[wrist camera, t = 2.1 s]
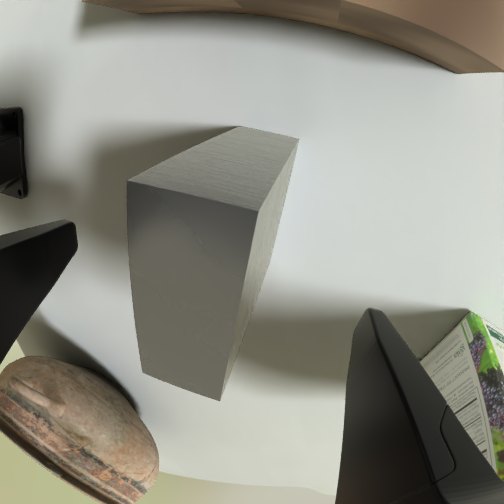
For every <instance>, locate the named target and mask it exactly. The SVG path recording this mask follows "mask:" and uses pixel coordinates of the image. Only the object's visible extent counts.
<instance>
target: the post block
mask: <svg viewBox="0 0 504 504" xmlns="http://www.w3.org/2000/svg"><path fill="white" fill-rule="evenodd" d="M82 2H88V3H93V4H98V5H103V6H108V7H113V8H117V9H121V10H125V11H129V12H133V13H137V14H146V13H160V12H184V11H206V12H231V13H244V14H255V15H264V16H272V17H279V18H286V19H292V20H297V21H303V22H308V23H313V24H318V25H322V26H327V27H331V28H335V29H339V30H343V31H347V32H350V33H354V34H357V35H361V36H364V37H368V38H371V39H374V40H377V41H380V42H383V43H386V44H389V45H391V46H394V47H397V48H400V49H402V50H405V51H407V52H410V53H412V54H415V55H417V56H420V57H422V58H424V59H427V60H429V61H431V62H434V63H436V64H438V65H440V66H442V67H444V68H446V69H448V70H450V71H452V72H454V73H456V74H465V73H485V72H504V0H82Z"/></svg>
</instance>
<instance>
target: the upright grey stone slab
mask: <svg viewBox="0 0 504 504" xmlns="http://www.w3.org/2000/svg"><path fill="white" fill-rule="evenodd" d="M298 142H299V139H297V138H293V137H289V136H284V135H280V134H276V133H271V132H267V131H262V130H257V129H252V128H247V127H242V126H239V127H237V128H234V129H232V130H230V131H227V132H225V133H222V134H220V135H218V136H216V137H213V138H211V139H209V140H207V141H204V142H202V143H200V144H198V145H196V146H193V147H191V148H189V149H187V150H185V151H183V152H181V153H179V154H177V155H175V156H173V157H171V158H169V159H167V160H165V161H163V162H161V163H159V164H157V165H155V166H153V167H151V168H149V169H147V170H145V171H143V172H142V173H140V174H138V175H136V176H134V177H132V178H130V179H129V180H127V228H128V250H129V266H130V279H131V290H132V300H133V309H134V318H135V326H136V333H137V340H138V347H139V354H140V360H141V366H142V371H143V373H145V374H147V375H150V376H152V377H154V378H157V379H159V380H162V381H164V382H167V383H170V384H172V385H175V386H177V387H180V388H183V389H186V390H188V391H191V392H194V393H197V394H200V395H203V396H206V397H209V398H212V399H215V400H218V401H220V400H221V397H222V394H223V392H224V389H225V386H226V383H227V381H228V378H229V375H230V372H231V370H232V367H233V364H234V361H235V359H236V356H237V353H238V350H239V348H240V345H241V342H242V339H243V336H244V334H245V331H246V328H247V325H248V322H249V320H250V317H251V314H252V311H253V308H254V305H255V302H256V300H257V297H258V294H259V291H260V288H261V285H262V282H263V280H264V277H265V274H266V271H267V268H268V265H269V262H270V259H271V255H272V251H273V247H274V243H275V238H276V234H277V230H278V226H279V222H280V218H281V214H282V210H283V206H284V202H285V197H286V193H287V189H288V185H289V181H290V176H291V172H292V168H293V164H294V159H295V155H296V151H297V146H298Z"/></svg>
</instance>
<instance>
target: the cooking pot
mask: <svg viewBox="0 0 504 504" xmlns="http://www.w3.org/2000/svg"><path fill="white" fill-rule="evenodd" d="M0 432H1V433H3V434H4V435H5V436H6V437H7V438H8V439H9V440H10V441H11V442H13V443H14V444H15V445H16V446H17V447H19V448H20V449H21V450H22V451H23V452H25V453H26V454H27V455H28V456H30V457H31V458H32V459H33V460H35V461H36V462H38V463H39V464H40V465H41V466H43V467H44V468H46V469H47V470H49V471H50V472H51V473H53V474H54V475H55V476H57V477H58V478H60V479H61V480H63V481H64V482H66V483H67V484H69V485H70V486H72V487H74V488H75V489H77V490H79V491H80V492H82V493H84V494H85V495H87V496H89V497H90V498H92V499H94V500H96V501H98V502H100V503H102V504H133V503H135V502H136V501H137V500H138V499H140V498H141V497H142V496H143V495H144V494H145V493H146V492H147V491H148V490H149V489H150V488H151V486H152V485H153V484H154V482H155V480H156V478H157V475H158V470H159V455H158V450H157V447H156V444H155V442H154V439H153V437H152V435H151V433H150V432H149V430H148V429H147V427H146V426H145V424H144V423H143V421H142V420H141V419H140V417H139V416H138V414H137V413H136V412H135V410H134V409H133V408H132V406H131V405H130V403H129V402H128V400H127V398H126V397H125V395H124V394H123V393H122V392H121V390H120V389H119V388H118V387H116V386H115V385H114V384H113V383H112V382H111V381H109V380H108V379H107V378H105V377H104V376H102V375H100V374H99V373H97V372H95V371H93V370H91V369H88V368H84V367H79V366H75V365H72V364H69V363H66V362H62V361H59V360H56V359H52V358H48V357H42V356H27V357H23V358H20V359H18V360H16V361H14V362H12V363H10V364H8V365H7V366H6V367H5V368H4V370H3V371H2V372H1V374H0Z"/></svg>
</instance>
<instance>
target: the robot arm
mask: <svg viewBox="0 0 504 504" xmlns="http://www.w3.org/2000/svg"><path fill="white" fill-rule="evenodd" d="M0 193H3V194H6V195H9V196H13V197H16V198H19V199H23V198H25V197H26V196H27V184H26V175H25V164H24V149H23V113H22V109H21V107H9V108H0ZM77 248H78V241H77V234H76V227H75V224H74V223H73V222H71V221H68V220H59V221H55V222H51V223H47V224H43V225H39V226H35V227H31V228H27V229H23V230H19V231H16V232H12V233H8V234H5V235H1V236H0V364H1V363H2V361H3V359H4V358H5V356H6V354H7V353H8V351H9V350H10V348H11V346H12V345H13V343H14V342H15V340H16V339H17V337H18V336H19V334H20V333H21V331H22V330H23V328H24V327H25V325H26V324H27V322H28V321H29V319H30V318H31V316H32V315H33V314H34V312H35V311H36V309H37V308H38V307H39V305H40V304H41V302H42V301H43V300H44V298H45V297H46V296H47V294H48V293H49V292H50V290H51V289H52V287H53V286H54V285H55V283H56V282H57V280H58V279H59V277H60V275H61V274H62V272H63V271H64V269H65V268H66V266H67V265H68V263H69V262H70V260H71V259H72V257H73V256H74V254H75V253H76V251H77ZM335 504H504V481H503V480H502V479H501V478H500V477H499V476H498V475H497V473H496V472H495V470H494V469H493V468H492V466H491V465H490V463H489V462H488V461H487V459H486V458H485V456H484V455H483V454H482V452H481V451H480V450H479V448H478V447H477V445H476V444H475V443H474V441H473V440H472V438H471V437H470V436H469V434H468V433H467V432H466V430H465V429H464V427H463V426H462V424H461V423H460V421H459V420H458V418H457V417H456V415H455V414H454V412H453V411H452V409H451V407H450V406H449V405H447V401H446V400H445V398H444V397H443V395H442V394H441V392H440V391H439V389H438V388H437V387H436V385H435V384H434V382H433V381H432V379H431V378H430V376H429V375H428V373H427V372H426V371H425V369H424V368H423V366H422V365H421V363H420V362H419V361H418V359H417V358H416V356H415V355H414V354H413V352H412V351H411V349H410V348H409V347H408V345H407V344H406V342H405V341H404V340H403V338H402V337H401V336H400V334H399V333H398V332H397V330H396V329H395V328H394V326H393V325H392V324H391V322H390V321H389V320H388V318H387V317H386V316H385V314H384V313H383V312H382V311H381V310H377V309H373V308H368V309H366V311H365V312H364V314H363V316H362V318H361V319H360V321H359V323H358V325H357V327H356V329H355V331H354V334H353V341H352V348H351V356H350V363H349V370H348V376H347V383H346V399H345V416H344V430H343V442H342V452H341V462H340V471H339V479H338V487H337V494H336V501H335Z"/></svg>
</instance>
